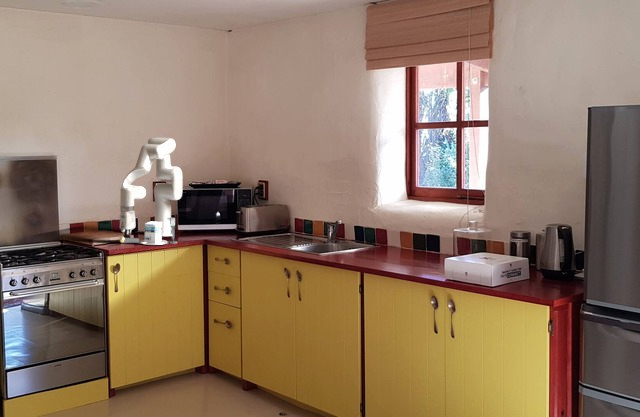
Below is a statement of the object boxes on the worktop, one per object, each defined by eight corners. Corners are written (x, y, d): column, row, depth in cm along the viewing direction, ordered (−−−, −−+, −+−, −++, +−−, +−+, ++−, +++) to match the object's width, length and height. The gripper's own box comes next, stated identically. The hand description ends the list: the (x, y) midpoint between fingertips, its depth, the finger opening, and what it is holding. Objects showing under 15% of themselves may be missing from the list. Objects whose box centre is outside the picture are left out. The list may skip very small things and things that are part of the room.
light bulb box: (155, 243, 417) (156, 224, 416) (144, 242, 418) (144, 223, 417) (162, 240, 428) (162, 221, 427) (150, 239, 429) (151, 221, 427)
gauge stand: (169, 242, 430) (169, 217, 428) (177, 243, 428) (177, 217, 427) (166, 243, 426) (166, 217, 425) (174, 244, 425) (174, 218, 423)
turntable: (120, 241, 427) (121, 235, 426) (167, 241, 432) (167, 236, 432) (119, 245, 411) (119, 239, 411) (167, 246, 416) (168, 240, 416)
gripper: (126, 210, 412) (126, 243, 414) (139, 207, 426) (139, 239, 429) (114, 209, 414) (114, 242, 416) (128, 207, 428) (127, 238, 431)
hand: (127, 241), depth 422 cm, fingers closed
